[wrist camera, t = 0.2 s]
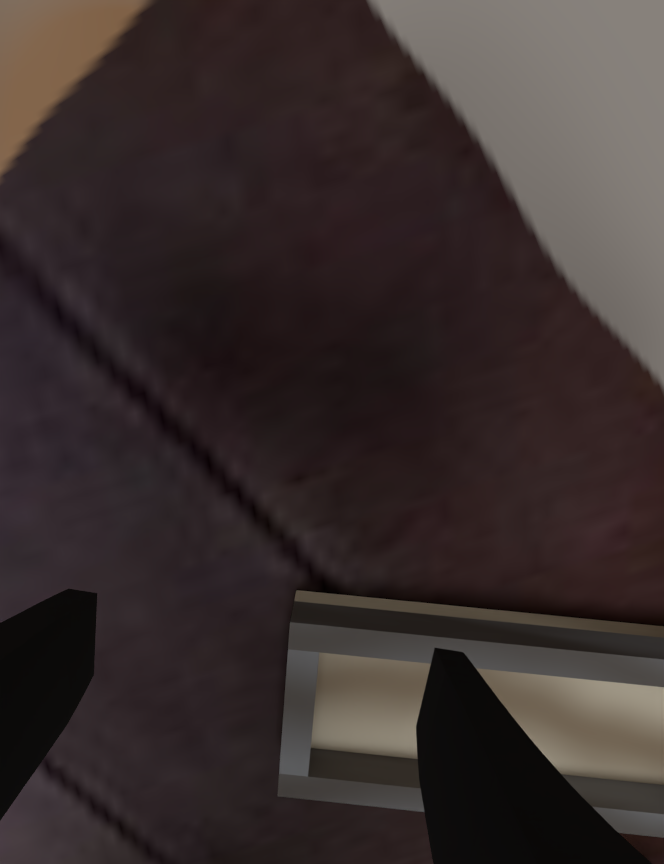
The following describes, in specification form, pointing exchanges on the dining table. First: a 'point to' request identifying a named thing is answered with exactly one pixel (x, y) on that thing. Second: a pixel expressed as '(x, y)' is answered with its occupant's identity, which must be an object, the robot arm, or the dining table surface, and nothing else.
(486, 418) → the dining table surface
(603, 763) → the grey shallow tray
